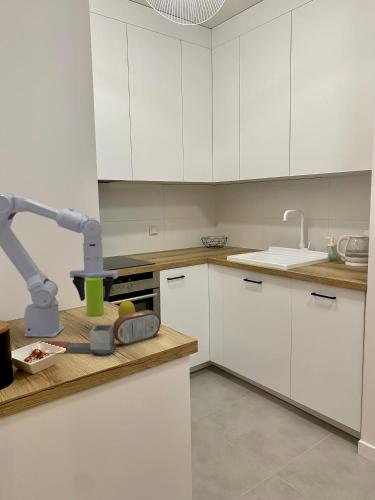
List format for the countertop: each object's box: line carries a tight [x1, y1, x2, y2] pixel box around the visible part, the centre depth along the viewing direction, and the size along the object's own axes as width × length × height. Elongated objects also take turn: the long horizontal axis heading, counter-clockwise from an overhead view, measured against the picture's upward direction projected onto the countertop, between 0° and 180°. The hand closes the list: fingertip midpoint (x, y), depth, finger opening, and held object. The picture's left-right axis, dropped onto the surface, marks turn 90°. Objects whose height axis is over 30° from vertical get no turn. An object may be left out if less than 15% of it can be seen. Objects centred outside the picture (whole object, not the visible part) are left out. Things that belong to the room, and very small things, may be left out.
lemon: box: [117, 299, 136, 318], centre depth 121 cm, size 6×6×8 cm
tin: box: [112, 309, 162, 345], centre depth 107 cm, size 15×3×8 cm, turn 126°
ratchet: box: [40, 340, 116, 357], centre depth 100 cm, size 21×6×4 cm, turn 88°
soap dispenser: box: [85, 278, 105, 317], centre depth 129 cm, size 6×7×20 cm
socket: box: [89, 324, 116, 350], centre depth 99 cm, size 5×5×5 cm
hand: (94, 300), depth 115 cm, fingers open, 7 cm apart
